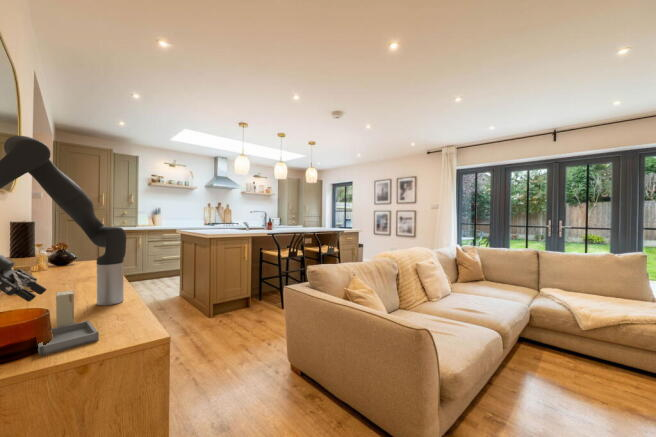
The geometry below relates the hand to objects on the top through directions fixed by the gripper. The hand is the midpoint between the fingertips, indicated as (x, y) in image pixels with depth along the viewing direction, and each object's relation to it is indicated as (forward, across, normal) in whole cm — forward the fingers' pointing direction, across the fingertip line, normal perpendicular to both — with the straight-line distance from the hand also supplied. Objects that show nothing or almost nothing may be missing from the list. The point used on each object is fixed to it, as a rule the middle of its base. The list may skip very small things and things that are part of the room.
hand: (38, 295), depth 90 cm
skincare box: (+13, 0, +4) cm, 14 cm away
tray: (+15, -12, +2) cm, 19 cm away
